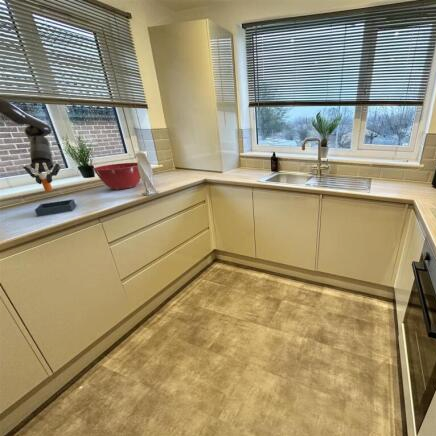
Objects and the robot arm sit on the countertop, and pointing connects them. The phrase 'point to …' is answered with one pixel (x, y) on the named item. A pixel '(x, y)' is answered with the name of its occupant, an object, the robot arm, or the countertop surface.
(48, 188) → the glue stick
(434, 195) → the countertop surface
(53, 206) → the tote
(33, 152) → the robot arm
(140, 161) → the white statue
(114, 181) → the mixing bowl
